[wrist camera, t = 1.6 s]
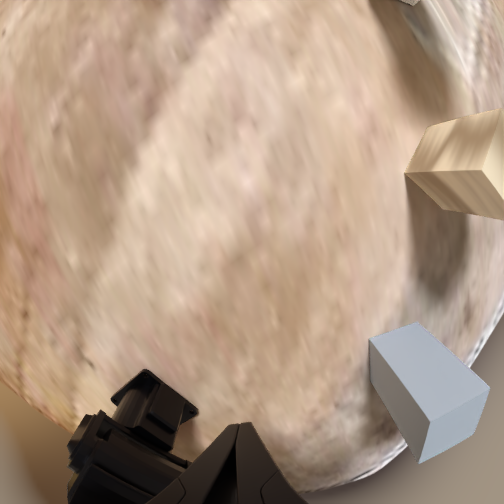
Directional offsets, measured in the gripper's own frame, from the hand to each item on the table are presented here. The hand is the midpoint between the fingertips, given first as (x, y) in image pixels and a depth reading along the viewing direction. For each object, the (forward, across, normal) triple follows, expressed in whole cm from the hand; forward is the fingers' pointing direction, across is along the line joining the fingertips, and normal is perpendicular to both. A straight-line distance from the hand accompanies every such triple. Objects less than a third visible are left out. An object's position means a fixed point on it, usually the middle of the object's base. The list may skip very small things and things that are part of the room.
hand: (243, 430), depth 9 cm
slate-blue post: (+13, +12, -8) cm, 20 cm away
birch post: (+13, +18, +7) cm, 23 cm away
